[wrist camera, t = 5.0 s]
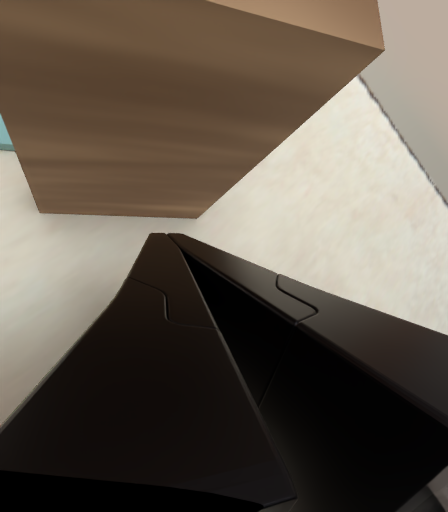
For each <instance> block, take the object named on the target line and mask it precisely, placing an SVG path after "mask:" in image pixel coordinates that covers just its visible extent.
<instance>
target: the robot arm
mask: <svg viewBox="0 0 448 512" xmlns="http://www.w3.org/2000/svg"><path fill="white" fill-rule="evenodd" d="M0 512H448V335H445V334H442V333H440V332H437V331H434V330H431V329H428V328H425V327H423V326H420V325H417V324H414V323H411V322H409V321H406V320H403V319H400V318H397V317H395V316H392V315H389V314H386V313H383V312H381V311H378V310H375V309H372V308H369V307H366V306H364V305H361V304H358V303H355V302H352V301H350V300H347V299H344V298H341V297H338V296H336V295H333V294H330V293H327V292H325V291H322V290H319V289H317V288H314V287H311V286H309V285H306V284H304V283H301V282H299V281H296V280H294V279H291V278H289V277H286V276H284V275H281V274H278V276H277V273H275V272H273V271H270V270H268V269H266V268H263V267H261V266H258V265H256V264H254V263H251V262H249V261H246V260H244V259H242V258H239V257H237V256H234V255H232V254H230V253H227V252H225V251H222V250H220V249H217V248H215V247H213V246H210V245H208V244H205V243H203V242H201V241H198V240H196V239H193V238H191V237H189V236H186V235H184V234H180V233H168V234H167V235H166V234H165V233H150V234H149V236H148V238H147V240H146V242H145V244H144V245H143V247H142V249H141V251H140V253H139V255H138V257H137V259H136V261H135V263H134V264H133V266H132V268H131V270H130V272H129V274H128V276H127V278H126V279H125V281H124V283H123V284H122V286H121V288H120V290H119V291H118V293H117V294H116V296H115V297H114V299H113V300H112V301H111V302H110V304H109V305H108V306H107V307H106V309H105V310H104V311H103V312H102V313H101V314H100V315H99V316H98V318H97V319H96V320H95V321H94V322H93V323H92V324H91V325H90V327H89V328H88V329H87V330H86V331H85V332H84V333H83V334H82V335H81V337H80V338H79V339H78V340H77V341H76V342H75V343H74V344H73V346H72V347H71V348H70V349H69V350H68V351H67V352H66V353H65V355H64V356H63V357H62V358H61V359H60V360H59V361H58V362H57V363H56V365H55V366H54V367H53V368H52V369H51V370H50V371H49V372H48V374H47V375H46V376H45V377H44V378H43V379H42V380H41V381H40V382H39V384H38V385H37V386H36V387H35V388H34V389H33V390H32V391H31V393H30V394H29V395H28V396H27V397H26V398H25V399H24V400H23V402H22V403H21V404H20V405H19V406H18V407H17V408H16V409H15V410H14V412H13V413H12V414H11V415H10V416H9V417H8V418H7V419H6V421H5V422H4V423H3V424H2V425H1V426H0Z"/></svg>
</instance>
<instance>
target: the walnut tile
mask: <svg viewBox="0 0 448 512" xmlns="http://www.w3.org/2000/svg"><path fill="white" fill-rule="evenodd" d="M383 51H385V48H384V41H383V35H382V28H381V22H380V16H379V9H378V2H377V0H0V114H1V116H2V119H3V121H4V124H5V126H6V129H7V132H8V134H9V137H10V139H11V142H12V144H13V147H14V149H15V152H16V154H17V157H18V159H19V162H20V164H21V167H22V169H23V172H24V174H25V177H26V179H27V182H28V184H29V187H30V189H31V192H32V194H33V197H34V199H35V202H36V205H37V207H38V210H39V212H40V213H54V214H82V215H111V216H139V217H167V218H195V219H197V218H198V217H199V216H200V215H202V214H203V213H204V212H205V211H206V210H207V209H208V208H209V207H210V206H212V205H213V204H214V203H215V202H216V201H217V200H218V199H219V198H221V197H222V196H223V195H224V194H225V193H226V192H227V191H228V190H229V189H231V188H232V187H233V186H234V185H235V184H236V183H237V182H238V181H240V180H241V179H242V178H243V177H244V176H245V175H246V174H247V173H248V172H250V171H251V170H252V169H253V168H254V167H255V166H256V165H257V164H258V163H260V162H261V161H262V160H263V159H264V158H265V157H266V156H267V155H269V154H270V153H271V152H272V151H273V150H274V149H275V148H276V147H277V146H279V145H280V144H281V143H282V142H283V141H284V140H285V139H286V138H288V137H289V136H290V135H291V134H292V133H293V132H294V131H295V130H296V129H298V128H299V127H300V126H301V125H302V124H303V123H304V122H305V121H306V120H308V119H309V118H310V117H311V116H312V115H313V114H314V113H315V112H317V111H318V110H319V109H320V108H321V107H322V106H323V105H324V104H325V103H327V102H328V101H329V100H330V99H331V98H332V97H333V96H334V95H336V94H337V93H338V92H339V91H340V90H341V89H342V88H343V87H344V86H346V85H347V84H348V83H349V82H350V81H351V80H352V79H353V78H354V77H356V76H357V75H358V74H359V73H360V72H361V71H362V70H363V69H365V68H366V67H367V66H368V65H369V64H370V63H371V62H372V61H373V60H375V59H376V58H377V57H378V56H379V55H380V54H381V53H382V52H383Z"/></svg>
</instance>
